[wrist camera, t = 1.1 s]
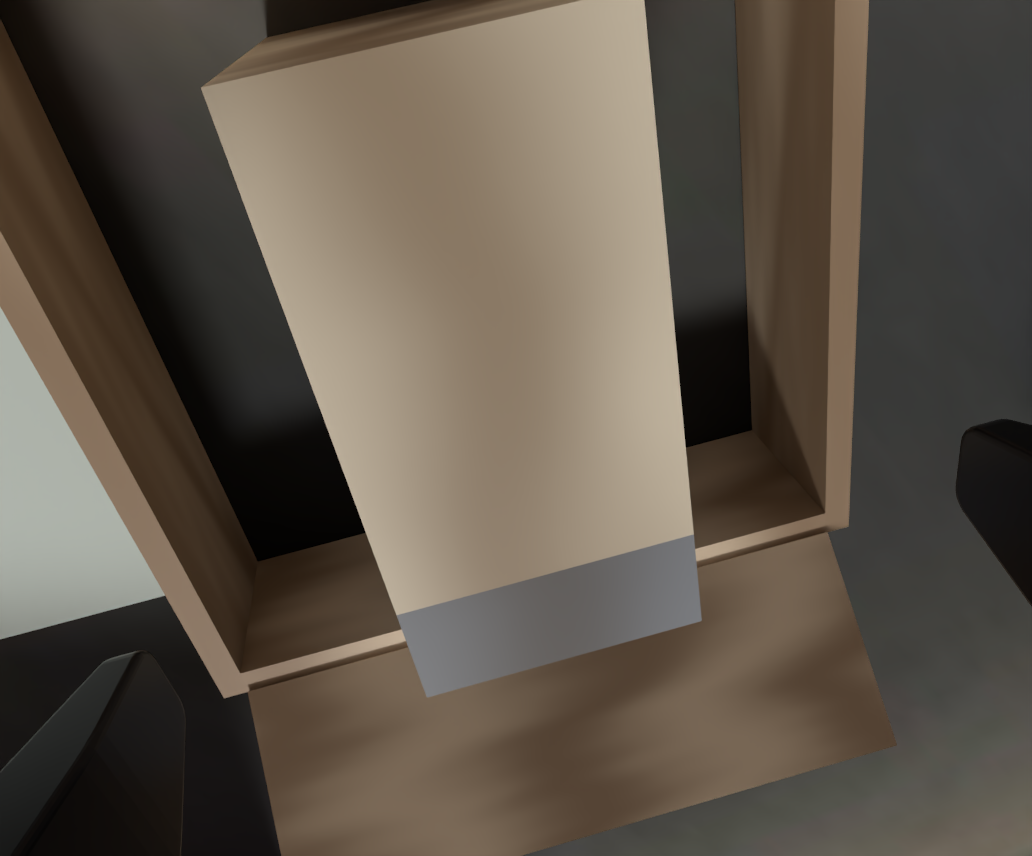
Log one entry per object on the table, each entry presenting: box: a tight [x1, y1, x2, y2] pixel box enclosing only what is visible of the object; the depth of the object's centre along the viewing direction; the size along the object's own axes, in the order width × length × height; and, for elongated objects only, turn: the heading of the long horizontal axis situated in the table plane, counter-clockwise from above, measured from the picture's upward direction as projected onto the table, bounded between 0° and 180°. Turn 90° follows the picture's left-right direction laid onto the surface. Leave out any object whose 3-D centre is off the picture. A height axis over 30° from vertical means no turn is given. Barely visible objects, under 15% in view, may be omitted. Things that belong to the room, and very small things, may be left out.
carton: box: [0, 0, 897, 856], centre depth 15 cm, size 15×23×7 cm, turn 11°
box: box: [201, 0, 702, 698], centre depth 15 cm, size 5×10×8 cm, turn 11°
